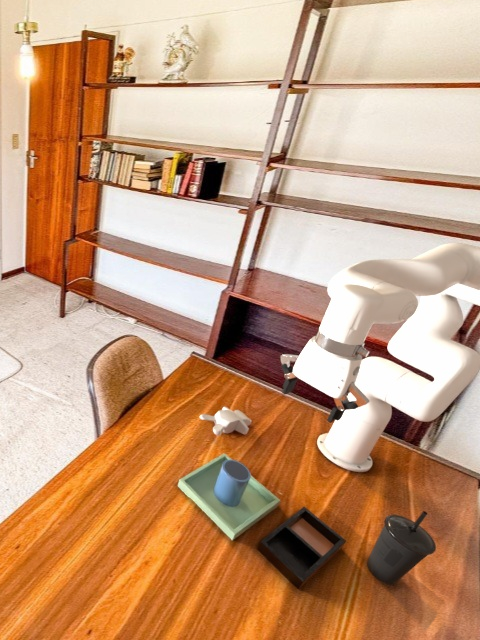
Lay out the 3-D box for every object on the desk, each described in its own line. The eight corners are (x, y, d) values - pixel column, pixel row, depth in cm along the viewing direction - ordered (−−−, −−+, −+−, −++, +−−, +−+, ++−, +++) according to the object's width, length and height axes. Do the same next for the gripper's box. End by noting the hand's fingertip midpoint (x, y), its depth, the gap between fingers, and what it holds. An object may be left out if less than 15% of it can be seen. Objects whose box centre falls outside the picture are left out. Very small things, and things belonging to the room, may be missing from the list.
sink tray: (221, 459, 109) (224, 452, 108) (277, 507, 97) (280, 500, 95) (177, 486, 101) (179, 479, 100) (231, 541, 89) (234, 534, 88)
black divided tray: (299, 515, 95) (304, 506, 94) (340, 549, 88) (346, 540, 87) (255, 550, 87) (260, 541, 86) (297, 591, 80) (303, 582, 79)
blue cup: (223, 480, 102) (233, 455, 98) (245, 499, 97) (256, 474, 94) (208, 490, 99) (216, 465, 96) (229, 511, 95) (240, 485, 91)
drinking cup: (412, 597, 80) (464, 537, 71) (370, 588, 81) (416, 527, 72) (389, 558, 87) (433, 498, 78) (350, 550, 88) (390, 490, 79)
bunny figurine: (261, 423, 116) (222, 430, 111) (255, 436, 118) (216, 443, 113) (237, 401, 124) (199, 406, 119) (231, 414, 126) (194, 419, 121)
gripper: (396, 360, 76) (360, 426, 84) (304, 318, 90) (280, 378, 97) (378, 371, 73) (342, 438, 80) (285, 326, 86) (261, 387, 94)
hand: (308, 405), depth 89 cm, fingers open, 9 cm apart
